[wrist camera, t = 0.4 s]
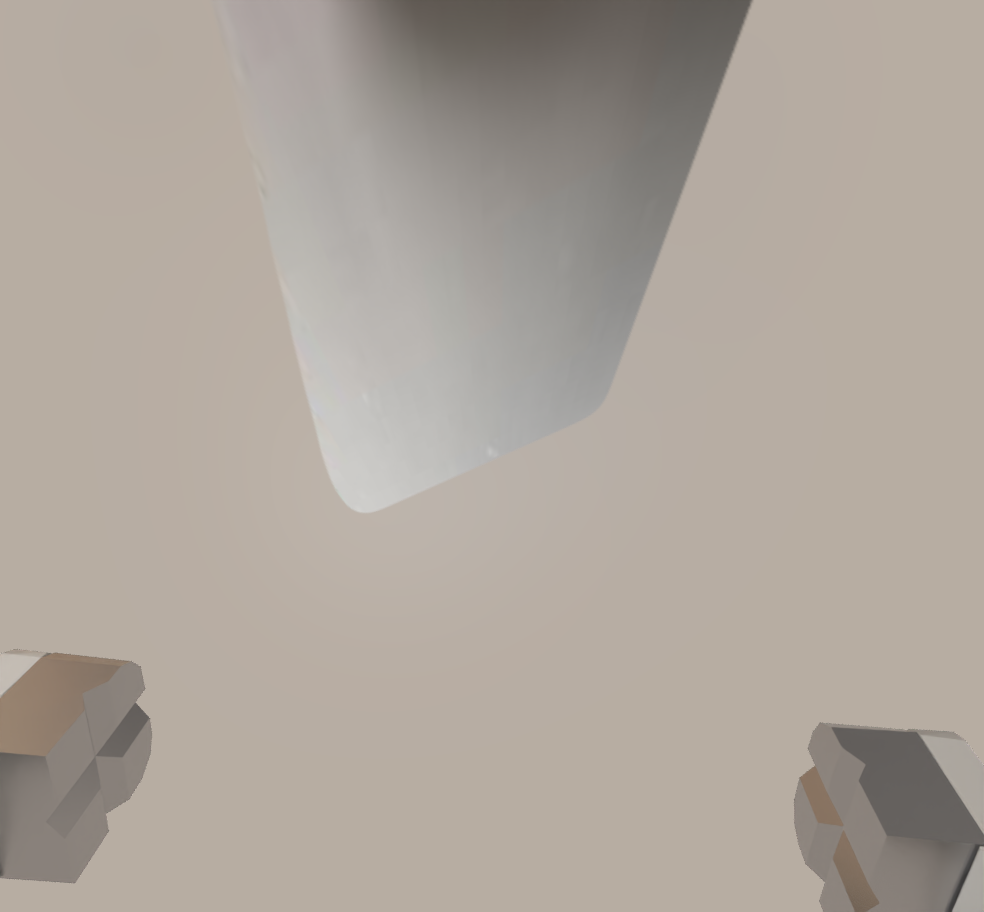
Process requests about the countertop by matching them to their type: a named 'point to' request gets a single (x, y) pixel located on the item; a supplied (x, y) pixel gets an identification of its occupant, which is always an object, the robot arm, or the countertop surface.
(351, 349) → the countertop surface
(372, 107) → the countertop surface
